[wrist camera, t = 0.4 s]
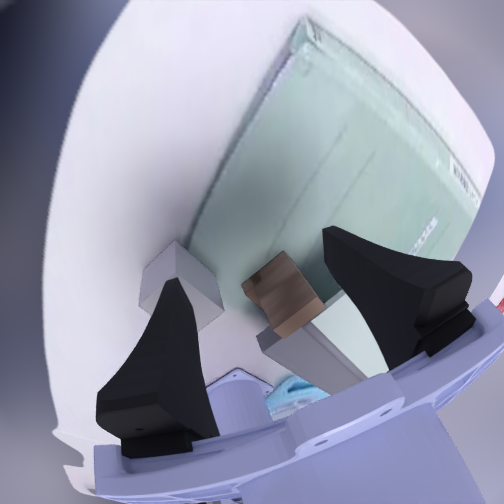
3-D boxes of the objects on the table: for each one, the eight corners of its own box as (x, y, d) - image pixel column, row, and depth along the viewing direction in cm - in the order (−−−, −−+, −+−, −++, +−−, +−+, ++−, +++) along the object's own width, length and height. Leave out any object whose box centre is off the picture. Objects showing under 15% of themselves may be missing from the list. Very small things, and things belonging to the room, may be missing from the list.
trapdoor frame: (335, 365, 37) (356, 402, 31) (241, 284, 26) (262, 338, 20) (362, 345, 36) (387, 379, 31) (283, 250, 25) (316, 296, 19)
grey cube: (183, 301, 25) (187, 339, 21) (143, 269, 23) (138, 306, 18) (215, 275, 25) (224, 311, 21) (175, 239, 22) (175, 272, 18)
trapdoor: (332, 388, 33) (342, 405, 30) (252, 333, 24) (261, 358, 21) (400, 336, 31) (413, 351, 29) (356, 251, 22) (376, 269, 20)
